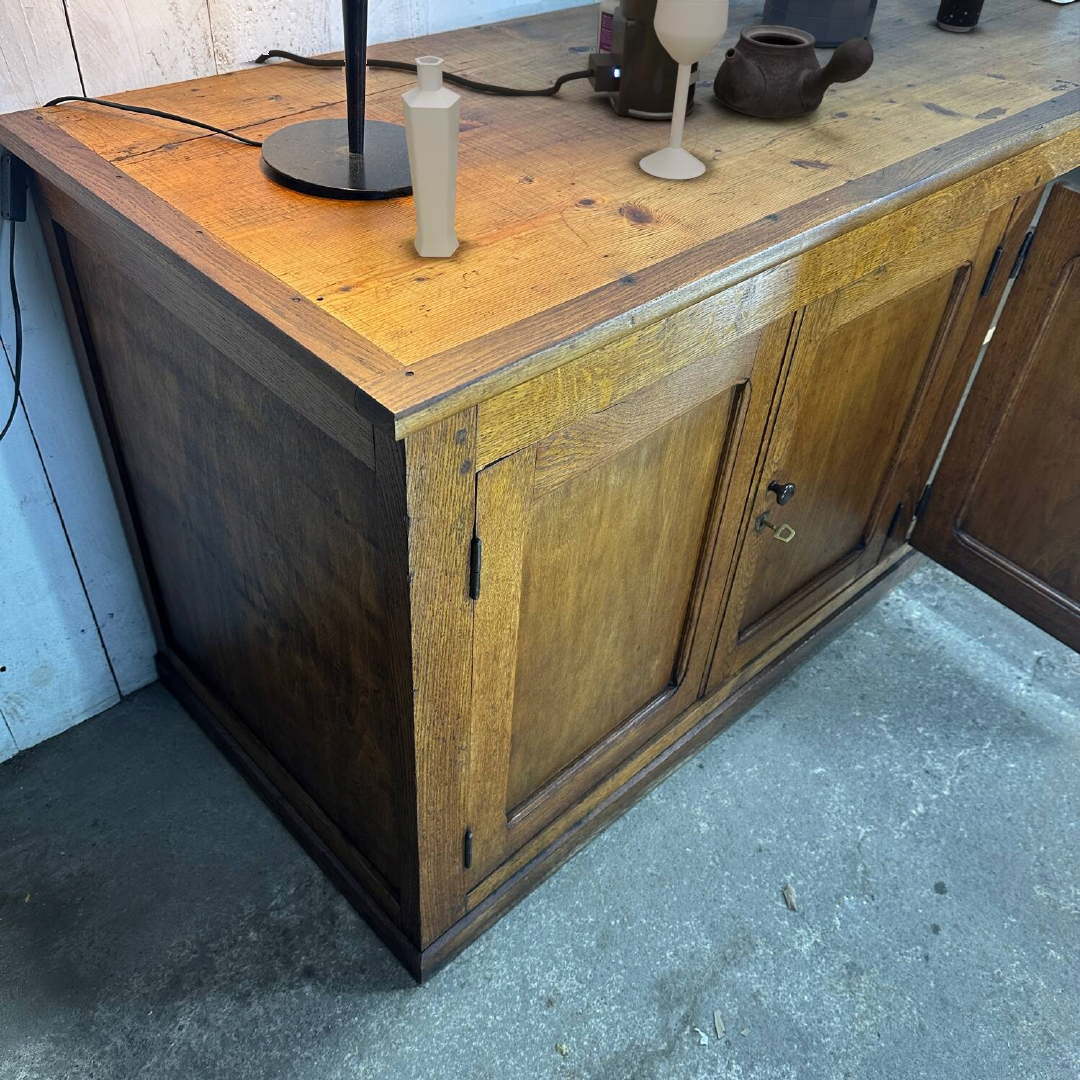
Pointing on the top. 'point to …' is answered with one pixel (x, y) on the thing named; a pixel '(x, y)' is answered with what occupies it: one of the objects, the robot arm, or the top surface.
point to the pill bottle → (605, 25)
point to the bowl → (823, 18)
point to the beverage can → (959, 14)
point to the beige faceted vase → (433, 157)
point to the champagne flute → (684, 72)
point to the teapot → (784, 71)
